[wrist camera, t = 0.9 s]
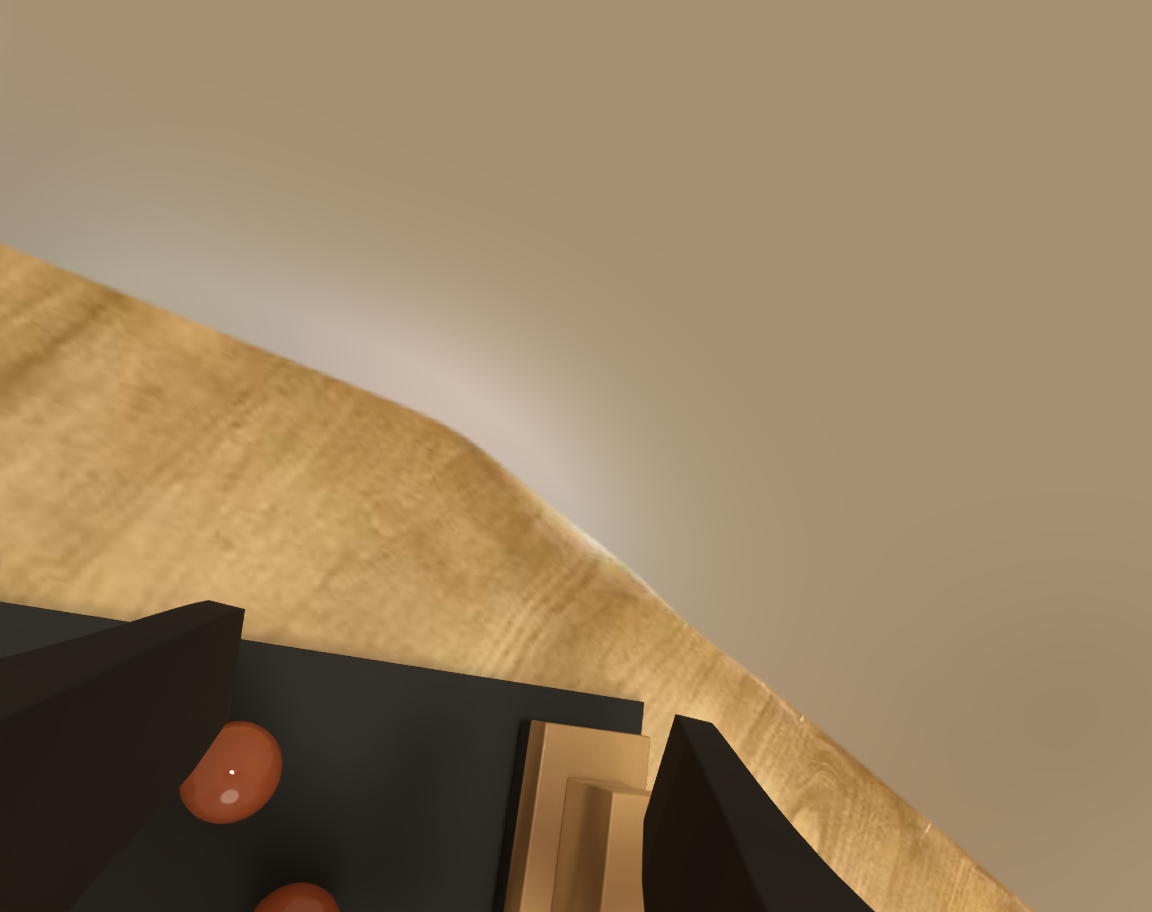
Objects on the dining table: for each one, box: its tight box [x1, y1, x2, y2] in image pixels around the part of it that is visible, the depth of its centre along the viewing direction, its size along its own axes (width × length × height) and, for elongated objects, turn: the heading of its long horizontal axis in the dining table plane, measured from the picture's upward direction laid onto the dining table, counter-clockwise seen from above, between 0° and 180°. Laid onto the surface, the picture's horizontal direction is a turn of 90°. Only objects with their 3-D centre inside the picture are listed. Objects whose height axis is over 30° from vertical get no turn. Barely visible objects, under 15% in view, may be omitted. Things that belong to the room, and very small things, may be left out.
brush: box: [493, 720, 652, 912], centre depth 25 cm, size 10×4×6 cm, turn 172°
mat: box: [0, 602, 644, 912], centre depth 24 cm, size 13×26×1 cm, turn 82°
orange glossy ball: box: [178, 720, 283, 824], centre depth 23 cm, size 3×3×3 cm
